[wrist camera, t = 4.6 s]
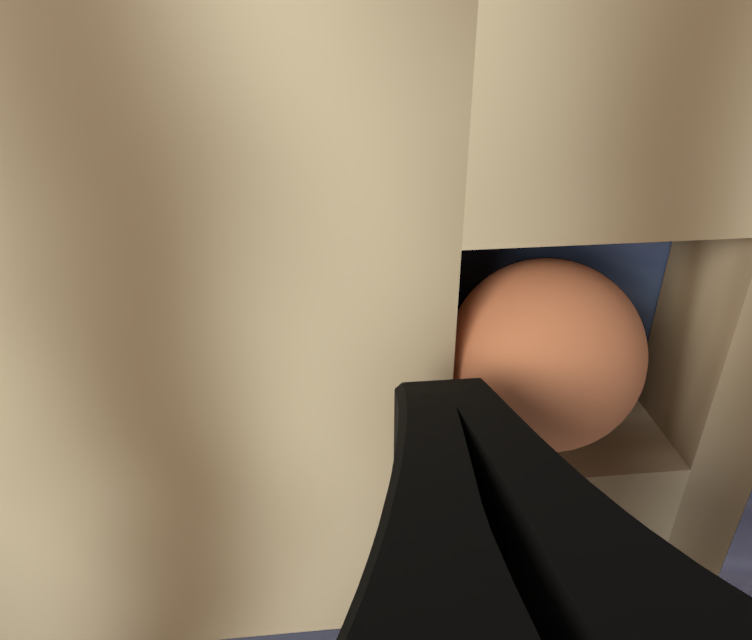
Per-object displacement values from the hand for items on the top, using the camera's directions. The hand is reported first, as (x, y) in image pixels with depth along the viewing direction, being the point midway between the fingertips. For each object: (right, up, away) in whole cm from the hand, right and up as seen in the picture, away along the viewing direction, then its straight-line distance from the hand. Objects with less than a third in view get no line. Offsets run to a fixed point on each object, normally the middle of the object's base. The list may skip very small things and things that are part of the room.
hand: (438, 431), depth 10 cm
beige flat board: (-2, +2, +3) cm, 4 cm away
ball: (+2, +1, +2) cm, 3 cm away
